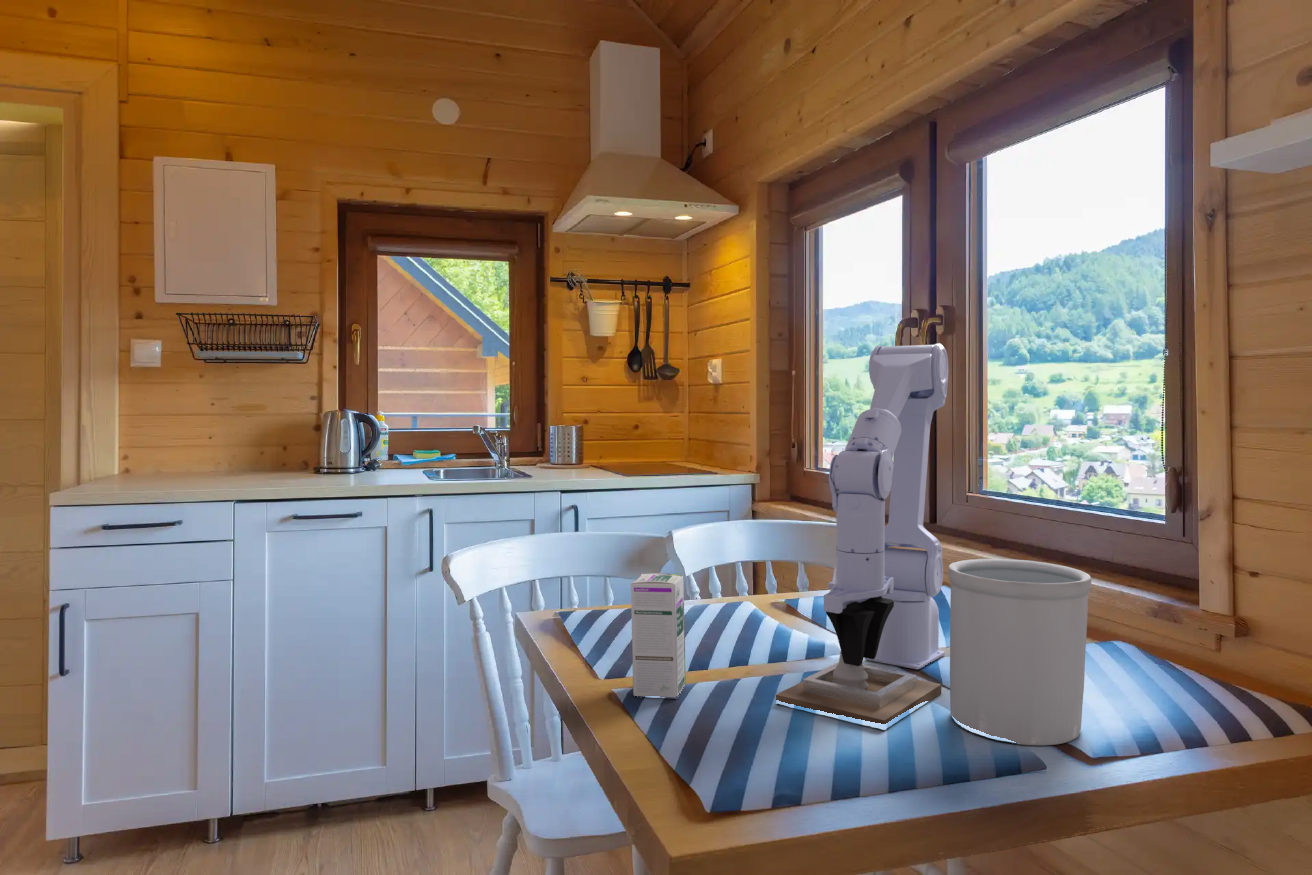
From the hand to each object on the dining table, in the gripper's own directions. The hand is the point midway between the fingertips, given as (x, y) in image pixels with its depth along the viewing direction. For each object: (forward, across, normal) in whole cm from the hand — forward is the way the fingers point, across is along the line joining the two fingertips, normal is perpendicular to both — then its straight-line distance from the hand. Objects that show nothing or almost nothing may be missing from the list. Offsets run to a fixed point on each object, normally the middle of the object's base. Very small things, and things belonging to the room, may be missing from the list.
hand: (859, 660), depth 110 cm
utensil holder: (+5, -4, +18) cm, 19 cm away
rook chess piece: (+4, 0, -1) cm, 4 cm away
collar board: (+5, 0, 0) cm, 5 cm away
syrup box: (+5, +13, -21) cm, 25 cm away
